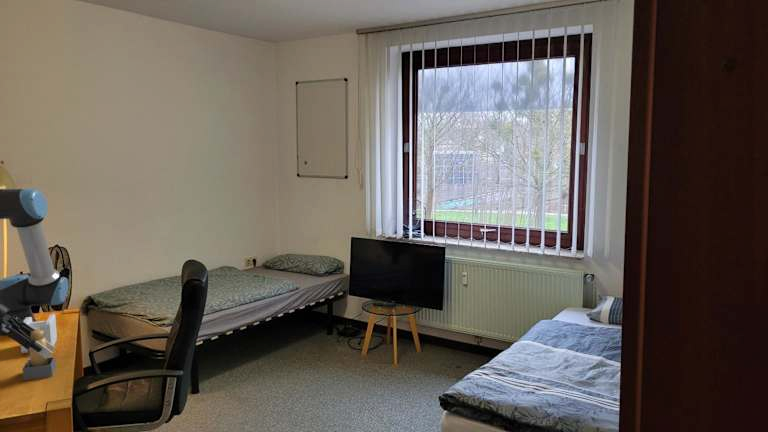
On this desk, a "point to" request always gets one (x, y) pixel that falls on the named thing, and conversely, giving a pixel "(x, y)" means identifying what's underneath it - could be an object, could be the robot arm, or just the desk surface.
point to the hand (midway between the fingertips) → (50, 352)
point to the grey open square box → (39, 370)
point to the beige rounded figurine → (34, 356)
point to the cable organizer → (47, 328)
